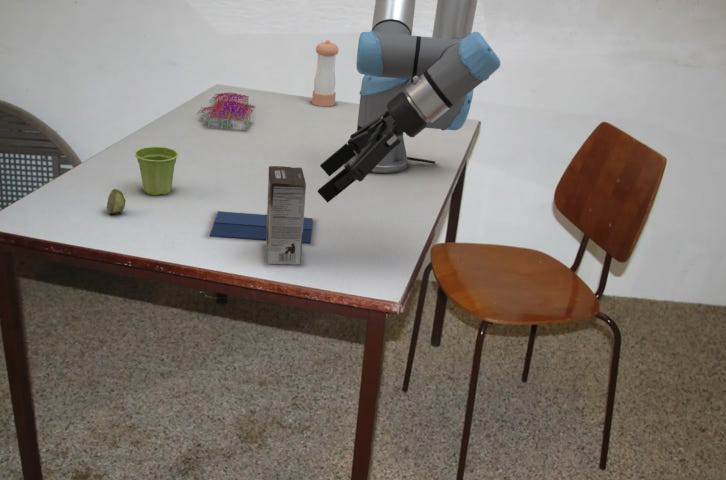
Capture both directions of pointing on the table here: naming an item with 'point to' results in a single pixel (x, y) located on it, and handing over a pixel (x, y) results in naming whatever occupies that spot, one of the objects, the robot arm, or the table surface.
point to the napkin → (249, 226)
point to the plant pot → (156, 168)
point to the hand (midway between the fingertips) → (323, 183)
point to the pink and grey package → (227, 110)
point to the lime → (115, 202)
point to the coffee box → (285, 214)
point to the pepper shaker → (325, 75)
